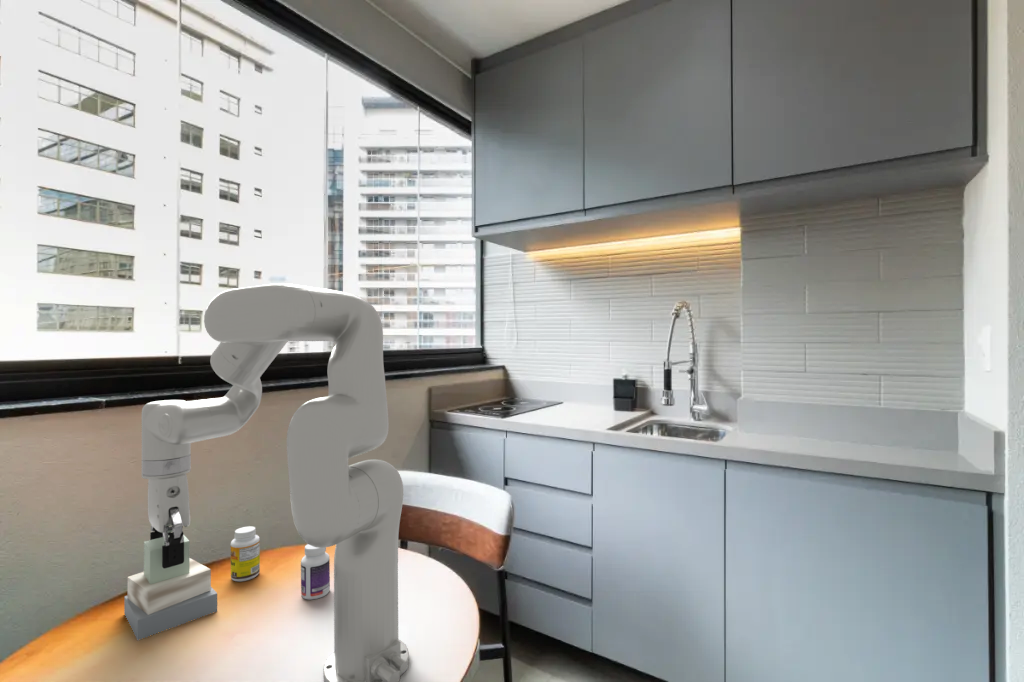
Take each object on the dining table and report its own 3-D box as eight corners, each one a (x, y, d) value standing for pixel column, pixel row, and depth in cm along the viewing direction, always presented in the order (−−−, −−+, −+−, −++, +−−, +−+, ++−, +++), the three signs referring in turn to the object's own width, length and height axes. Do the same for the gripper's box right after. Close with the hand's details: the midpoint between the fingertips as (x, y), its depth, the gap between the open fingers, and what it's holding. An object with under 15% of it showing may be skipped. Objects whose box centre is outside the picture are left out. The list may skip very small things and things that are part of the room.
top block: (210, 590, 91) (210, 569, 91) (148, 614, 83) (148, 591, 83) (188, 576, 97) (188, 556, 97) (127, 598, 88) (127, 576, 88)
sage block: (189, 572, 90) (189, 540, 90) (150, 584, 85) (150, 550, 85) (181, 562, 94) (181, 532, 94) (143, 573, 90) (143, 541, 90)
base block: (217, 614, 90) (217, 593, 90) (137, 643, 81) (137, 620, 81) (198, 593, 98) (198, 573, 98) (124, 617, 89) (124, 596, 89)
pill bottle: (334, 587, 99) (334, 540, 99) (321, 601, 93) (321, 551, 93) (309, 586, 99) (309, 539, 99) (295, 599, 94) (295, 550, 94)
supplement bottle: (231, 574, 105) (231, 527, 105) (259, 568, 107) (259, 523, 108) (229, 585, 100) (229, 536, 100) (259, 578, 103) (259, 531, 103)
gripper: (203, 469, 87) (203, 565, 86) (178, 456, 98) (178, 539, 98) (152, 478, 81) (152, 580, 81) (132, 462, 93) (132, 551, 93)
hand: (166, 557), depth 89 cm, fingers open, 9 cm apart
